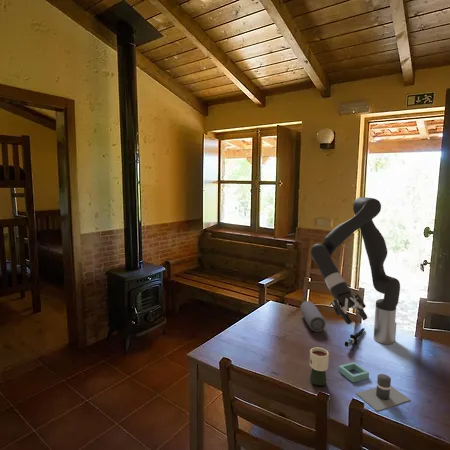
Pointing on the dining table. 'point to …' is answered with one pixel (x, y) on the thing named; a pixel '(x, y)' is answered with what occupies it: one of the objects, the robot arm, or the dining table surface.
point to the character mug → (318, 365)
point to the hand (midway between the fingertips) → (357, 321)
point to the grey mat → (378, 403)
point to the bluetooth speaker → (312, 316)
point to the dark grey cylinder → (383, 386)
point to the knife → (353, 338)
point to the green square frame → (353, 378)
